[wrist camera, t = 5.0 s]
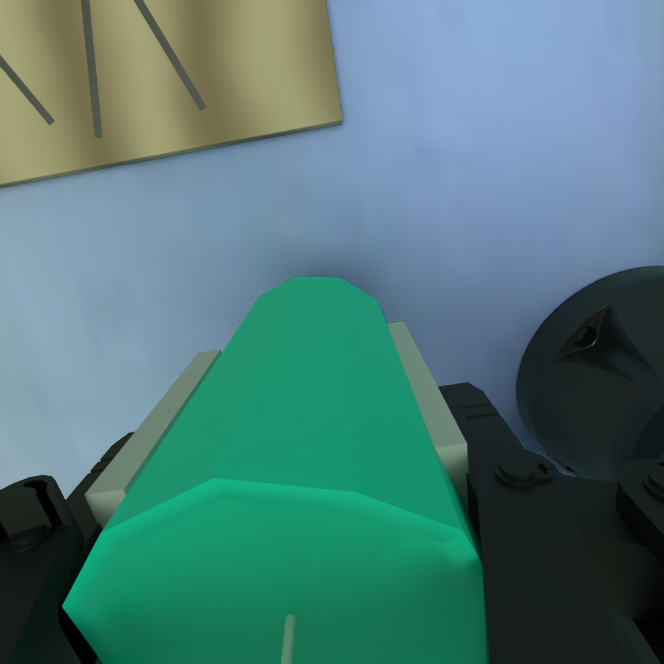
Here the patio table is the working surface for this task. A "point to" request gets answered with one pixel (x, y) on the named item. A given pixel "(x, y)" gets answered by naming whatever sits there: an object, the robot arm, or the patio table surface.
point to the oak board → (156, 79)
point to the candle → (291, 510)
